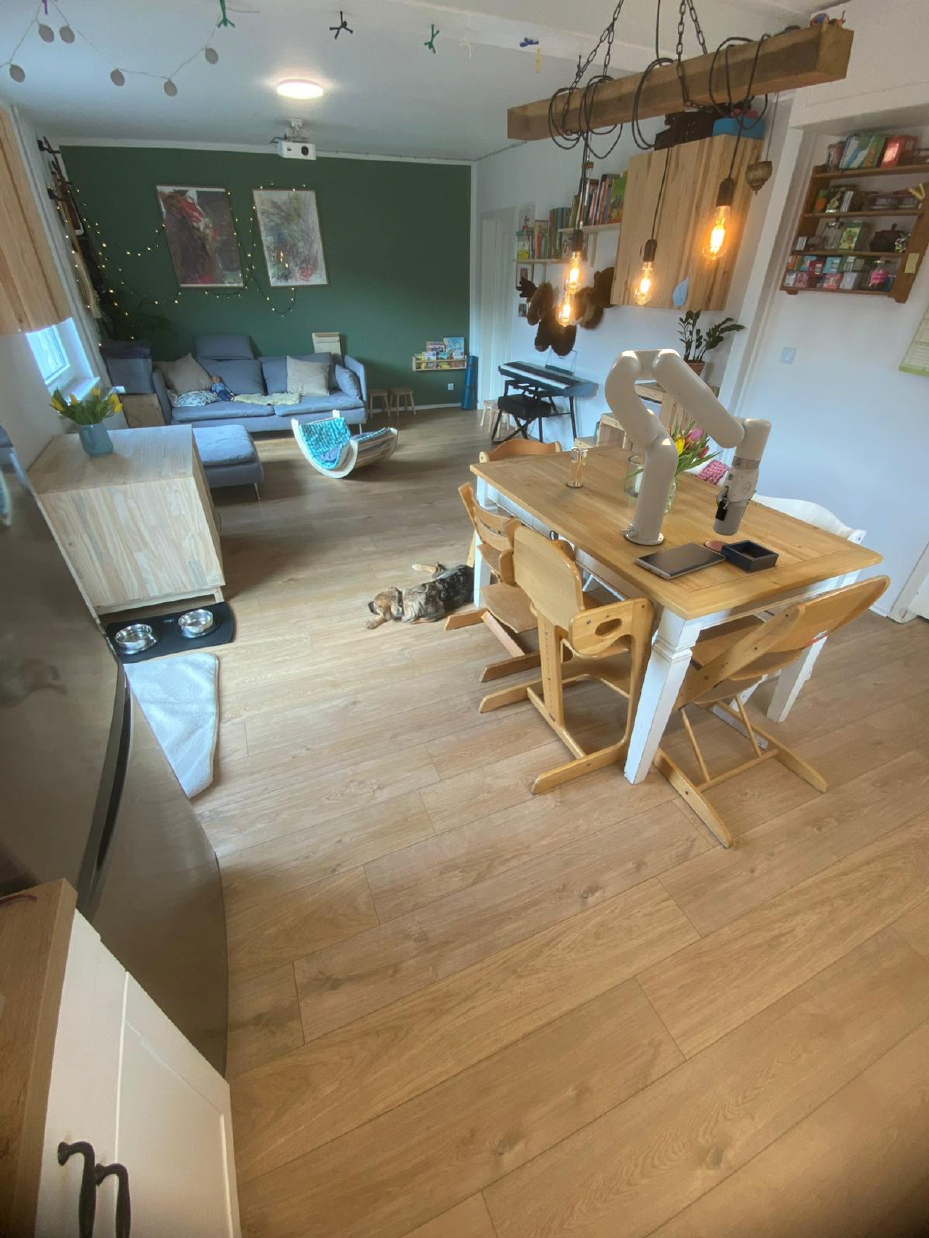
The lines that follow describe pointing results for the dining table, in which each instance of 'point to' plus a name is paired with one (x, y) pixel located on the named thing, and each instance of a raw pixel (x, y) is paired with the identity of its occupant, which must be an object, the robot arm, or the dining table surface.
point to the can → (730, 519)
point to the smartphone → (679, 560)
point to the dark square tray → (761, 554)
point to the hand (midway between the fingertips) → (728, 517)
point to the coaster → (715, 545)
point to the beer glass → (577, 466)
